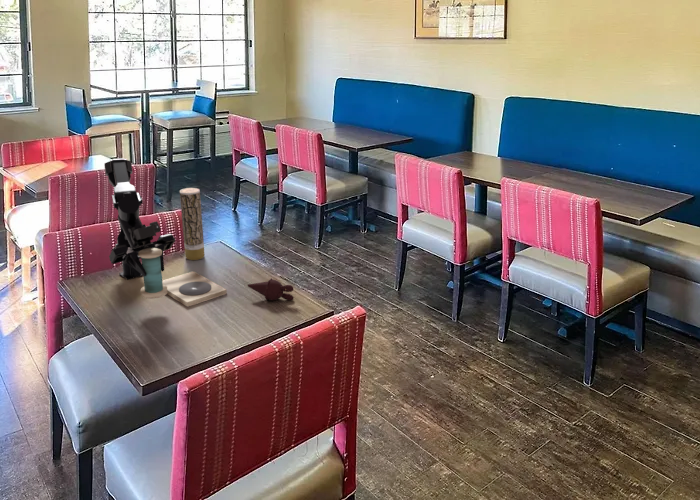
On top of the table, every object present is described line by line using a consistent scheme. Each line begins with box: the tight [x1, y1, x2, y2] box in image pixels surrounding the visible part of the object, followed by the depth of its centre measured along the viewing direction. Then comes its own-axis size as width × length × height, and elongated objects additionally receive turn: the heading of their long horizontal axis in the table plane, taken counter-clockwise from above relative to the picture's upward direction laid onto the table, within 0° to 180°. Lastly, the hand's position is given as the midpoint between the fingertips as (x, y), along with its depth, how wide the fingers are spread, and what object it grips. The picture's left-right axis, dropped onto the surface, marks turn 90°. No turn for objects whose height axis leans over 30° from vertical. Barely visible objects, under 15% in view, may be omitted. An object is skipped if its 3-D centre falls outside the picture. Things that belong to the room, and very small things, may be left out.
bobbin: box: [138, 248, 168, 299], centre depth 189 cm, size 8×8×13 cm
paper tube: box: [179, 187, 205, 261], centre depth 229 cm, size 7×7×25 cm
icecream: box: [247, 277, 295, 301], centre depth 200 cm, size 7×7×15 cm
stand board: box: [162, 271, 228, 307], centre depth 206 cm, size 20×14×2 cm
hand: (154, 273), depth 188 cm, fingers closed on bobbin, 5 cm apart
